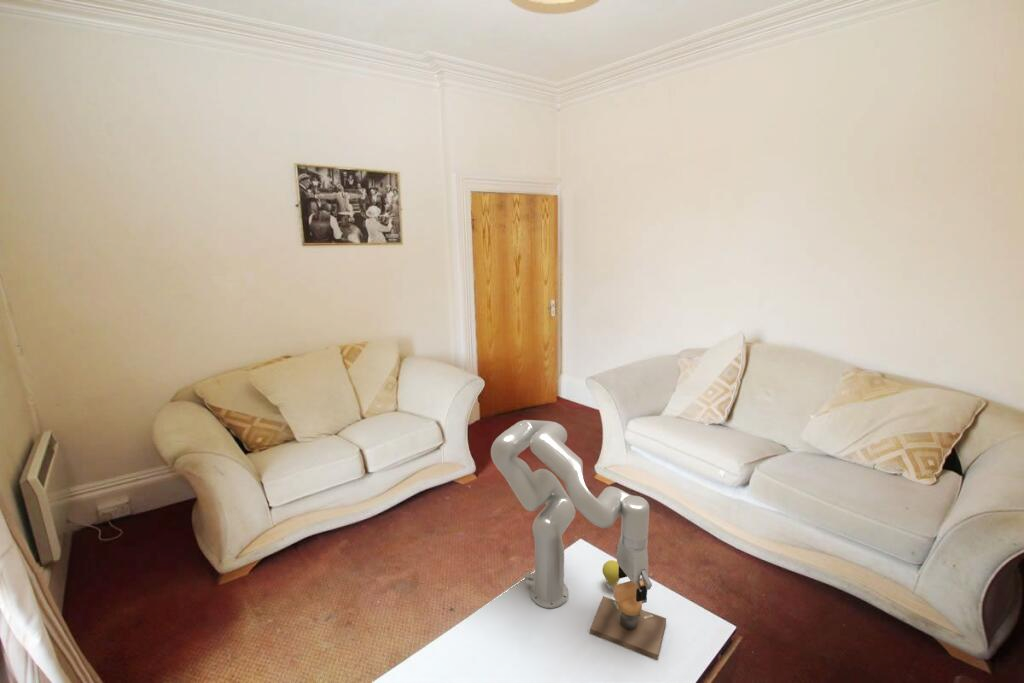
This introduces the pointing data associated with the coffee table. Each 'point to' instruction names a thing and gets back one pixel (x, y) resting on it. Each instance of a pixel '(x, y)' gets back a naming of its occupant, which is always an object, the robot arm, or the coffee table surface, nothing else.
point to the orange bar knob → (628, 598)
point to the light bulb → (611, 573)
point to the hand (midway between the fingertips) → (632, 588)
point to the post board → (629, 638)
